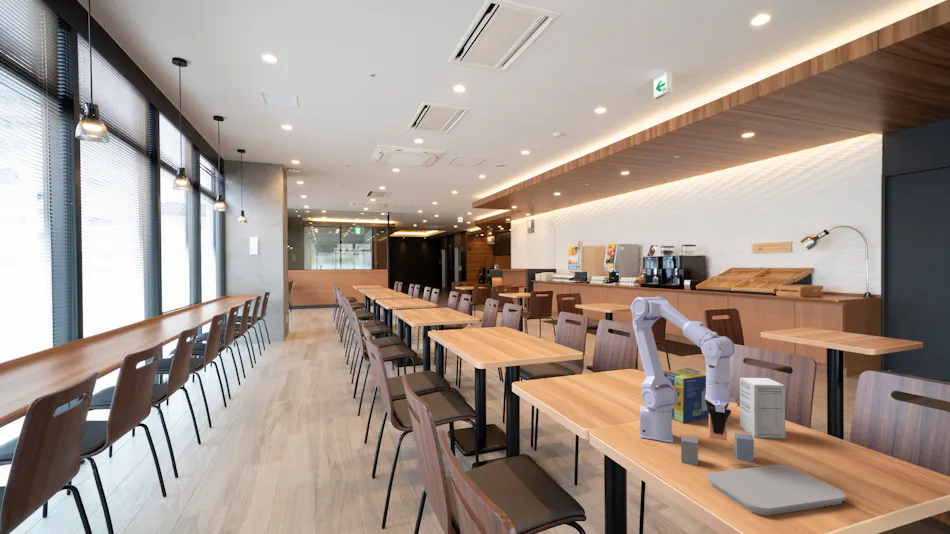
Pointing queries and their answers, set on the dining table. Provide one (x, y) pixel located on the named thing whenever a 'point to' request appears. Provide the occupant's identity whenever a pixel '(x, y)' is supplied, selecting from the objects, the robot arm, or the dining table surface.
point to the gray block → (689, 450)
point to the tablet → (775, 489)
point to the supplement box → (762, 407)
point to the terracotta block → (717, 436)
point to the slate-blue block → (744, 447)
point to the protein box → (688, 394)
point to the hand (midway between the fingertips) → (717, 430)
